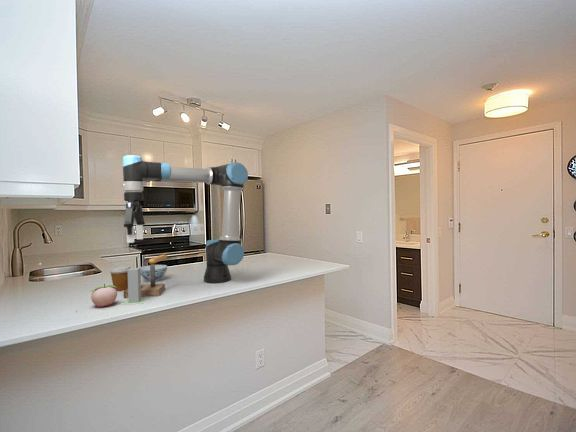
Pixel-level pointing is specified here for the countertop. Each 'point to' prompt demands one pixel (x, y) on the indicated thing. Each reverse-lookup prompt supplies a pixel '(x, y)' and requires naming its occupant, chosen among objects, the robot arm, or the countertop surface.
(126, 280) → the disposable coffee cup
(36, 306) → the countertop surface
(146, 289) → the socket block
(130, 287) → the gray square post
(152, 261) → the clip
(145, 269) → the chinaware
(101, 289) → the decorative fruit
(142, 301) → the mat
